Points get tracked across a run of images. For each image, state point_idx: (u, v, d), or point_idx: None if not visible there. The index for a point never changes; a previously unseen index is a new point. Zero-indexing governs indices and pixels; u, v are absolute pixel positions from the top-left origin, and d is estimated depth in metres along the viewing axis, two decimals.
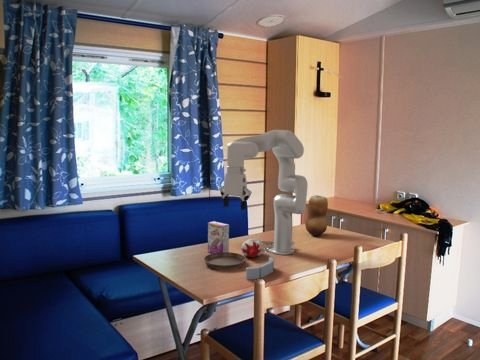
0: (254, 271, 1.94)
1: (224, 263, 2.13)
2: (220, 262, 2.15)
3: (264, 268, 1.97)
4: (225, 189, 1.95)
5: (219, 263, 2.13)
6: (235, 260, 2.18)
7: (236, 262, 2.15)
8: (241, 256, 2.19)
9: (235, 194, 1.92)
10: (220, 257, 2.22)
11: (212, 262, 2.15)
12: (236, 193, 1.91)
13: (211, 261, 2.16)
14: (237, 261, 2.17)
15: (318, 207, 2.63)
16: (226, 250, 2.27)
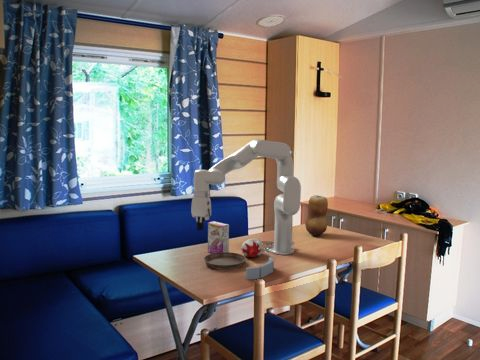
0: (254, 271, 1.94)
1: (224, 263, 2.13)
2: (220, 262, 2.15)
3: (264, 268, 1.97)
4: (192, 210, 2.20)
5: (219, 263, 2.13)
6: (235, 260, 2.18)
7: (236, 262, 2.15)
8: (241, 256, 2.19)
9: (200, 215, 2.17)
10: (220, 257, 2.22)
11: (212, 262, 2.15)
12: (201, 215, 2.16)
13: (211, 261, 2.16)
14: (237, 261, 2.17)
15: (318, 207, 2.63)
16: (226, 250, 2.27)
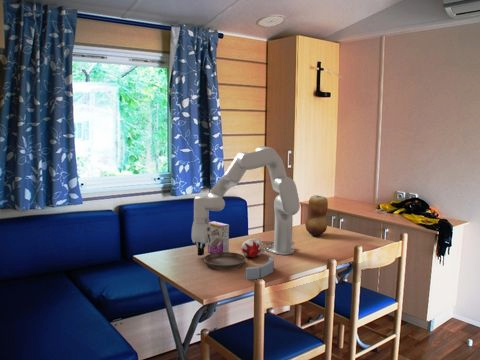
0: (254, 271, 1.94)
1: (224, 263, 2.13)
2: (220, 262, 2.15)
3: (264, 268, 1.97)
4: (192, 236, 2.22)
5: (219, 263, 2.13)
6: (235, 260, 2.18)
7: (236, 262, 2.15)
8: (241, 256, 2.19)
9: (201, 241, 2.19)
10: (220, 257, 2.22)
11: (212, 262, 2.15)
12: (201, 241, 2.18)
13: (211, 261, 2.16)
14: (237, 261, 2.17)
15: (318, 207, 2.63)
16: (226, 250, 2.27)
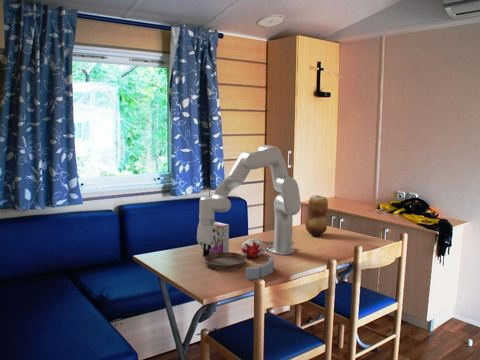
0: (254, 271, 1.94)
1: (224, 263, 2.13)
2: (220, 262, 2.15)
3: (264, 268, 1.97)
4: (198, 237, 2.20)
5: (219, 263, 2.13)
6: (235, 260, 2.18)
7: (236, 262, 2.15)
8: (241, 256, 2.19)
9: (206, 243, 2.17)
10: (220, 257, 2.22)
11: (212, 262, 2.14)
12: (207, 242, 2.16)
13: (211, 261, 2.16)
14: (237, 261, 2.16)
15: (318, 207, 2.63)
16: (226, 250, 2.27)
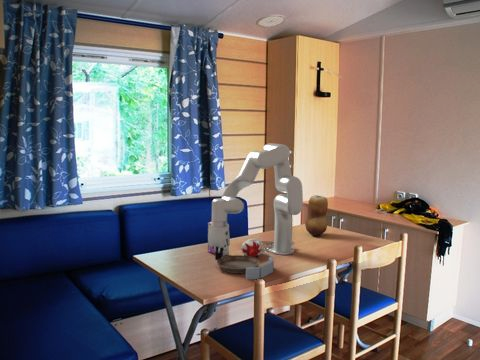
0: (254, 271, 1.94)
1: (237, 266, 2.08)
2: (233, 265, 2.10)
3: (264, 268, 1.97)
4: (210, 240, 2.15)
5: (232, 266, 2.08)
6: (248, 263, 2.13)
7: (249, 265, 2.10)
8: (254, 259, 2.14)
9: (219, 245, 2.12)
10: (232, 260, 2.17)
11: (225, 265, 2.10)
12: (219, 245, 2.12)
13: (224, 264, 2.11)
14: (250, 264, 2.12)
15: (318, 207, 2.63)
16: (226, 250, 2.27)
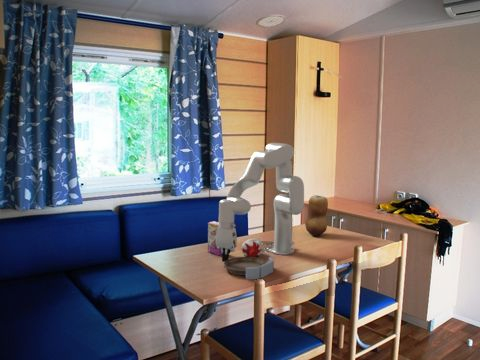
0: (254, 271, 1.94)
1: (245, 268, 2.06)
2: (240, 267, 2.07)
3: (264, 268, 1.97)
4: (217, 241, 2.12)
5: (239, 268, 2.06)
6: (255, 265, 2.11)
7: None
8: (261, 261, 2.11)
9: (226, 247, 2.09)
10: (239, 262, 2.14)
11: (232, 267, 2.07)
12: (226, 246, 2.09)
13: (231, 266, 2.08)
14: (258, 266, 2.09)
15: (318, 207, 2.63)
16: None
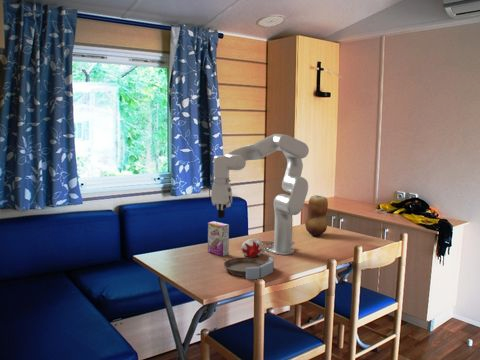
0: (254, 271, 1.94)
1: (245, 269, 2.06)
2: (240, 267, 2.08)
3: (264, 268, 1.97)
4: (212, 198, 2.13)
5: (239, 269, 2.06)
6: (255, 265, 2.11)
7: None
8: (261, 261, 2.11)
9: (221, 203, 2.10)
10: (239, 262, 2.14)
11: (232, 268, 2.07)
12: (222, 202, 2.10)
13: (231, 267, 2.09)
14: (258, 266, 2.09)
15: (318, 207, 2.63)
16: (226, 250, 2.27)
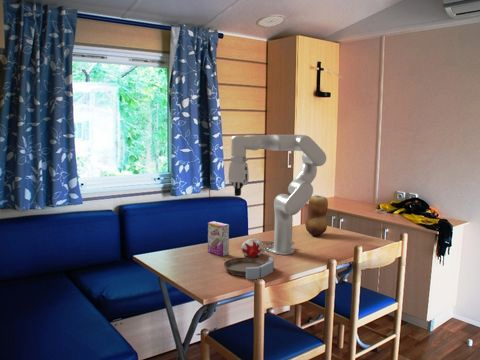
0: (254, 271, 1.94)
1: (245, 269, 2.06)
2: (240, 268, 2.08)
3: (264, 268, 1.97)
4: (229, 176, 2.22)
5: (239, 269, 2.06)
6: (255, 265, 2.11)
7: None
8: (261, 261, 2.11)
9: (238, 181, 2.19)
10: (239, 262, 2.14)
11: (232, 268, 2.07)
12: (239, 180, 2.18)
13: (231, 267, 2.09)
14: (258, 266, 2.09)
15: (318, 207, 2.63)
16: (226, 250, 2.27)
